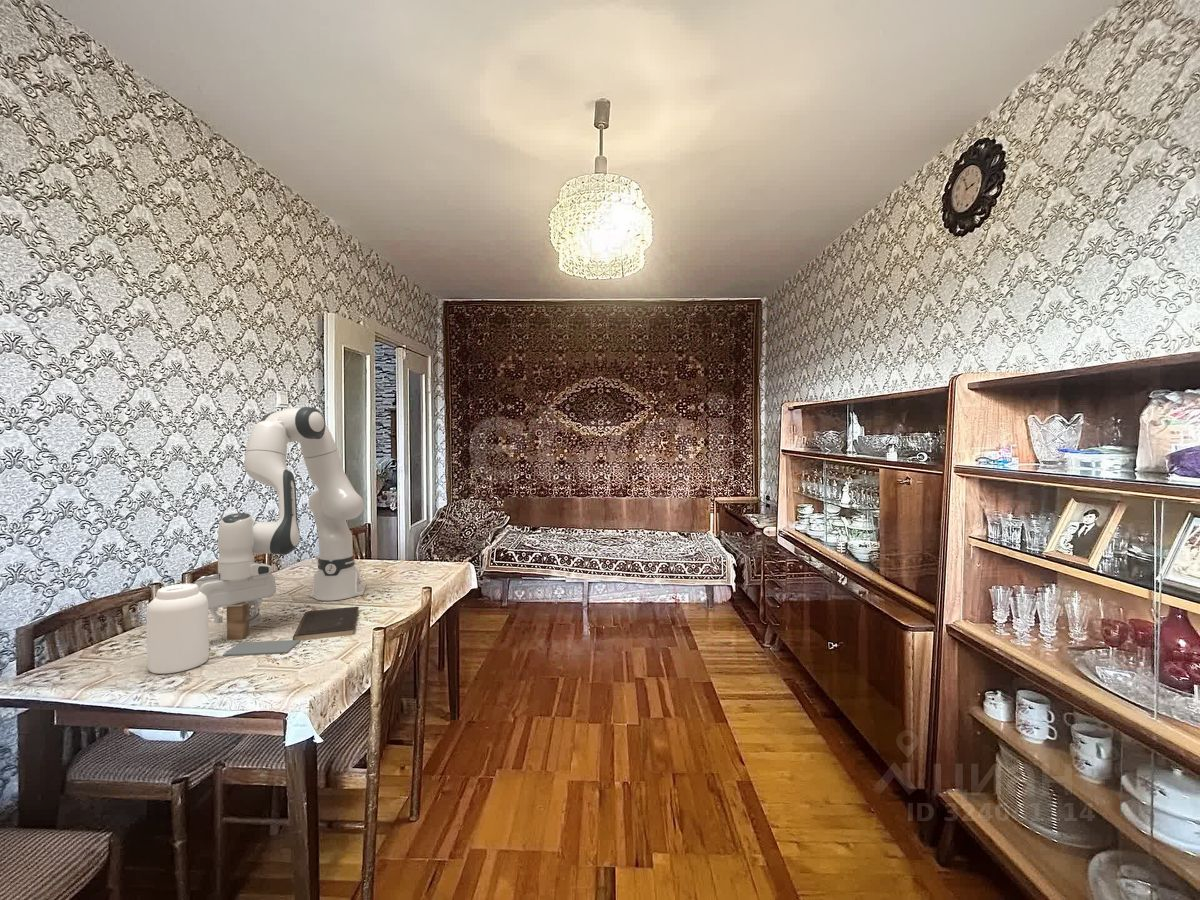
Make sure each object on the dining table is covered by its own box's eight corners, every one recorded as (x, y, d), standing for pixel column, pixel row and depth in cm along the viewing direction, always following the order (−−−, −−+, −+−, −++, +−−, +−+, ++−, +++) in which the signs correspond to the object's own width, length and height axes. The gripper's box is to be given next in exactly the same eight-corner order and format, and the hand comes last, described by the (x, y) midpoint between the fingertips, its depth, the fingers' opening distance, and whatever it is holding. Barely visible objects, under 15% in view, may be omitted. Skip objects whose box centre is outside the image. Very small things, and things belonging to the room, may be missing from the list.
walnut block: (234, 635, 164) (233, 601, 163) (248, 634, 164) (248, 600, 164) (227, 640, 160) (226, 605, 159) (242, 639, 160) (241, 604, 160)
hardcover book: (358, 613, 186) (358, 606, 186) (354, 636, 164) (354, 628, 164) (304, 618, 180) (304, 611, 180) (292, 643, 159) (292, 635, 159)
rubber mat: (239, 643, 157) (239, 642, 157) (300, 641, 159) (300, 639, 159) (222, 656, 148) (222, 654, 148) (287, 653, 150) (287, 651, 150)
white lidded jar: (137, 677, 135) (135, 595, 134) (161, 658, 147) (160, 582, 146) (197, 671, 138) (196, 591, 138) (216, 653, 150) (215, 578, 150)
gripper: (198, 579, 151) (198, 630, 151) (278, 566, 168) (278, 612, 168) (189, 576, 155) (190, 625, 155) (268, 563, 171) (268, 608, 172)
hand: (236, 618), depth 162 cm, fingers open, 8 cm apart
